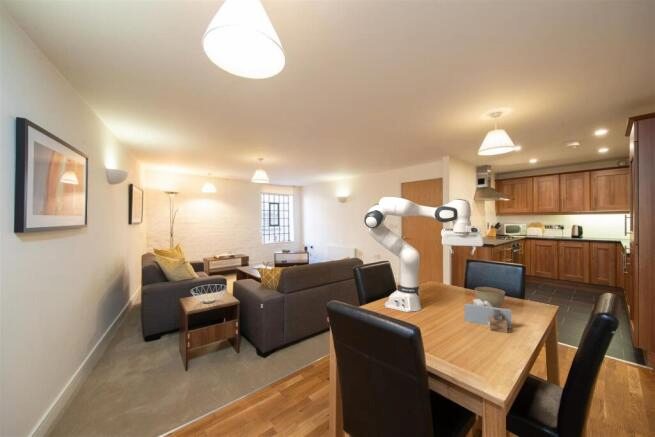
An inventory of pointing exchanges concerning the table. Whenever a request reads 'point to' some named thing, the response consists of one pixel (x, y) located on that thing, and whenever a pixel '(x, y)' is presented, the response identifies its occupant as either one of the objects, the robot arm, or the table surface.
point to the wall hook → (481, 303)
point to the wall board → (484, 314)
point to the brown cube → (498, 322)
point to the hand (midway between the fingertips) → (462, 254)
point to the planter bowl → (490, 295)
